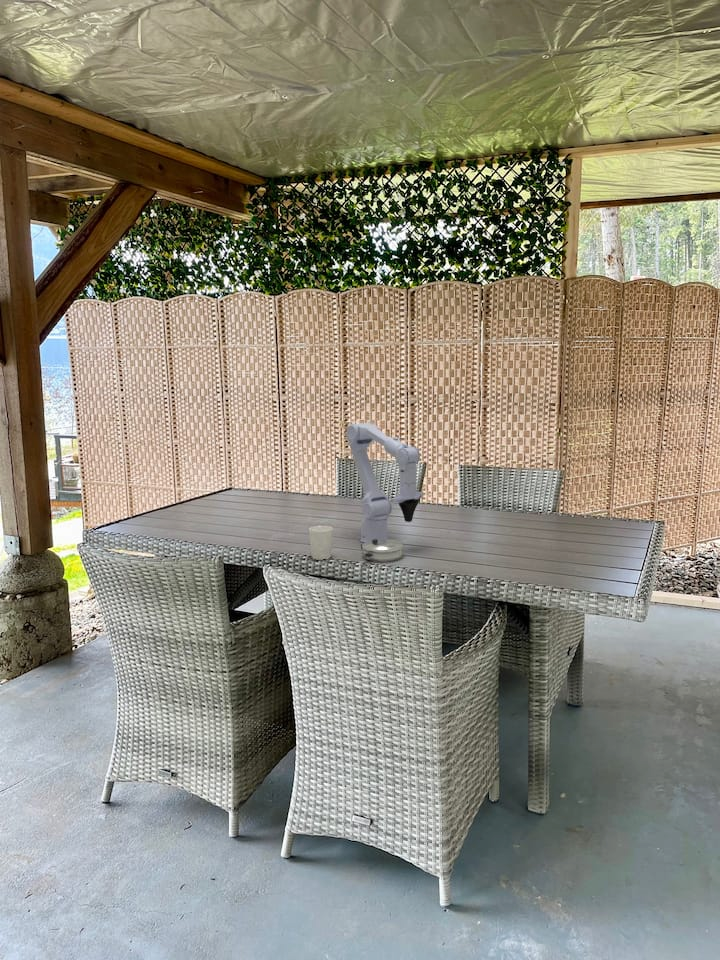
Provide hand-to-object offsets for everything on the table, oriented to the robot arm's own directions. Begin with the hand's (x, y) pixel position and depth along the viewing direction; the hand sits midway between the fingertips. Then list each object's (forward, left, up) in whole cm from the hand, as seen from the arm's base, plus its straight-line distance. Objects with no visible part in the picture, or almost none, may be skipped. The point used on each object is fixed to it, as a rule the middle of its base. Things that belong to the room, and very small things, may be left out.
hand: (408, 521), depth 237 cm
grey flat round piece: (-2, -12, -10) cm, 16 cm away
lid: (-2, -12, -7) cm, 14 cm away
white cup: (-18, -25, -11) cm, 32 cm away
